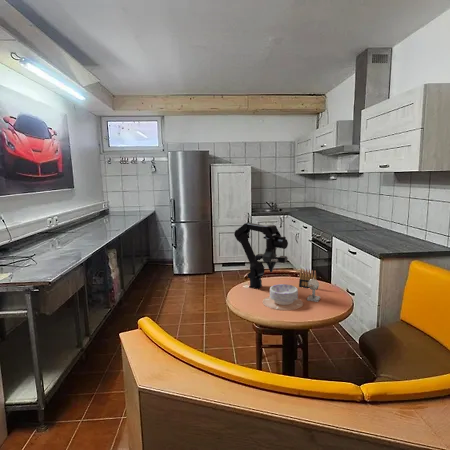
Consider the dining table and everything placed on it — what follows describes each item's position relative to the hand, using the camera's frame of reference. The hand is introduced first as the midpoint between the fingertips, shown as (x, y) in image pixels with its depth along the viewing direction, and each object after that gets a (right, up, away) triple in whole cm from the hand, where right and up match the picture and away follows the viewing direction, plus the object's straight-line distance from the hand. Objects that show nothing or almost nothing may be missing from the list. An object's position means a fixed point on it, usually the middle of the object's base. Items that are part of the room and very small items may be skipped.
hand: (271, 272), depth 199 cm
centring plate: (+4, -14, -16) cm, 22 cm away
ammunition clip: (+24, -11, +7) cm, 27 cm away
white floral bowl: (+5, -14, -16) cm, 22 cm away
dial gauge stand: (+22, -14, -12) cm, 29 cm away
